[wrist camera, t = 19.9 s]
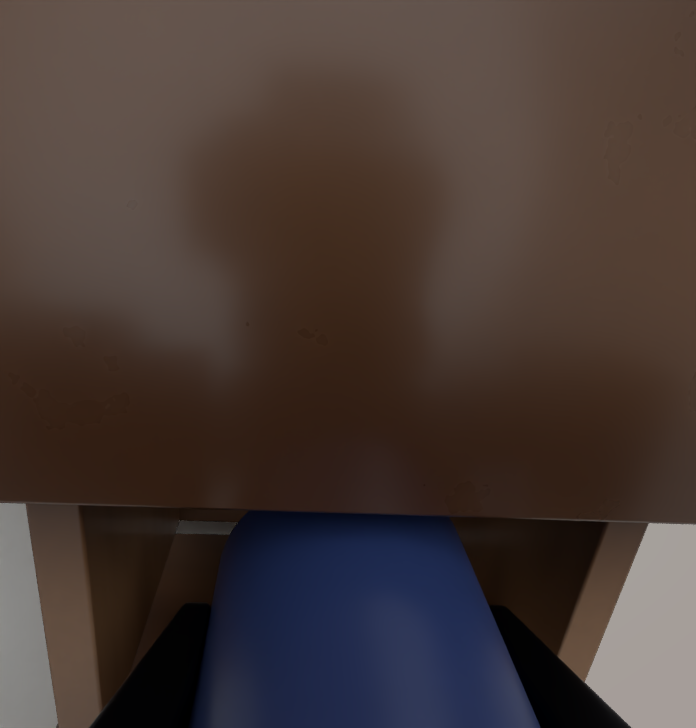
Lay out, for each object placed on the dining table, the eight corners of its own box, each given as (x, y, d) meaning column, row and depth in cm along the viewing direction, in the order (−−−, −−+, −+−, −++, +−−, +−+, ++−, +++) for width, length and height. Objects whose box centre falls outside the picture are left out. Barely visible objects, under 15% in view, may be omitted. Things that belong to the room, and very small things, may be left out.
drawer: (459, 590, 19) (557, 853, 12) (141, 586, 18) (32, 883, 11) (572, 137, 13) (895, 113, 6) (114, 76, 12) (-167, -48, 5)
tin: (503, 582, 10) (710, 1010, 5) (318, 690, 11) (337, 1162, 6) (373, 422, 8) (488, 817, 3) (165, 562, 9) (1, 1066, 4)
